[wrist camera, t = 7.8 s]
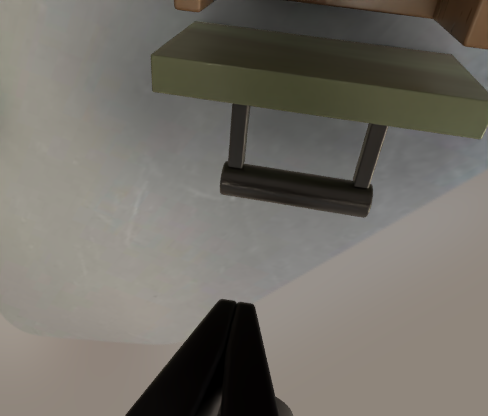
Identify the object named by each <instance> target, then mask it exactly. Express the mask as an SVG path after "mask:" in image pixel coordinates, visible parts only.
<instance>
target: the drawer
mask: <svg viewBox="0 0 488 416" xmlns="http://www.w3.org/2000/svg"><path fill="white" fill-rule="evenodd" d="M214 1H215V0H174V7H175V9H177V10H184V11H192V12H200V11H202V10H203V9H204V8H206V7H207V6H209V5H210V4H211V3H213V2H214ZM285 1H293V2H301V3H309V4H317V5H325V6H333V7H342V8H350V9H358V10H366V11H374V12H382V13H390V14H398V15H406V16H414V17H423V18H431V19H434V20H435V21H436V22H437V23H439V24H440V25H441V26H442V27H443V28H444V29H445V30H446V31H448V32H449V33H450V34H451V35H452V36H453V37H454V38H455V39H457V40H458V41H459V42H460V43H461V44H462V45H464V46H466V47H473V48H481V49H488V0H285ZM151 73H152V91H153V92H158V93H165V94H172V95H179V96H186V97H192V98H199V99H206V100H213V101H220V102H227V103H233V104H232V117H231V131H230V145H229V158H228V161H226V162H225V163H224V166H223V169H222V174H221V181H220V193H221V194H223V195H229V196H235V197H241V198H248V199H254V200H260V201H266V202H272V203H278V204H284V205H290V206H296V207H302V208H308V209H315V210H321V211H327V212H333V213H339V214H345V215H351V216H357V217H363V218H364V217H366V216H367V215H368V213H369V211H370V207H371V203H372V197H373V187H372V184H370V182H371V179H372V176H373V173H374V170H375V167H376V163H377V160H378V157H379V154H380V151H381V148H382V145H383V141H384V138H385V135H386V132H387V129H388V126H392V127H399V128H406V129H412V130H419V131H426V132H433V133H440V134H447V135H454V136H461V137H467V138H474V139H482V137H483V135H484V133H485V131H486V128H487V126H488V91H487V90H486V89H485V88H484V87H483V86H482V85H481V84H480V83H479V82H478V81H477V80H476V79H475V78H474V77H473V76H472V75H471V74H470V73H469V72H468V71H467V70H466V69H465V67H464V66H463V65H462V64H461V63H460V62H459V61H458V60H457V59H456V58H455V57H454V56H453V55H452V54H445V53H437V52H430V51H422V50H414V49H406V48H399V47H391V46H383V45H376V44H368V43H360V42H353V41H345V40H337V39H330V38H322V37H314V36H306V35H299V34H291V33H283V32H276V31H268V30H260V29H253V28H245V27H237V26H229V25H222V24H214V23H206V22H199V21H194V22H193V23H192V24H190V25H189V26H188V27H187V28H185V29H184V30H183V31H181V32H180V33H179V34H177V35H176V36H175V37H173V38H172V39H171V40H169V41H168V42H167V43H166V44H164V45H163V46H162V47H160V48H159V49H158V50H156V51H155V52H154V53H152V54H151ZM250 106H254V107H261V108H268V109H275V110H282V111H289V112H296V113H302V114H309V115H316V116H323V117H330V118H337V119H344V120H351V121H357V122H364V123H369V124H368V128H367V131H366V135H365V138H364V142H363V145H362V149H361V152H360V156H359V159H358V162H357V166H356V169H355V173H354V176H353V181H351V180H345V179H339V178H332V177H326V176H319V175H313V174H307V173H300V172H294V171H288V170H281V169H275V168H269V167H262V166H256V165H249V164H244V162H245V152H246V142H247V132H248V122H249V112H250Z"/></svg>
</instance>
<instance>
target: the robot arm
mask: <svg viewBox="0 0 488 416" xmlns="http://www.w3.org/2000/svg"><path fill="white" fill-rule="evenodd" d="M220 404H221V411H220V416H279V411H278V407H277V402H276V398H275V394H274V389H273V385H272V380H271V376H270V372H269V367H268V363H267V358H266V354H265V349H264V345H263V341H262V336H261V332H260V327H259V323H258V318H257V314H256V310H255V306H254V305H253V304H251V303H244V302H238V303H236V302H235V301H232V300H225V299H221V300H219V301H218V302H217V303H216V304H215V305H214V307H213V308H212V309H211V310H210V312H209V313H208V314H207V315H206V317H205V318H204V319H203V320H202V321H201V323H200V324H199V325H198V326H197V328H196V329H195V330H194V331H193V333H192V334H191V335H190V336H189V337H188V339H187V340H186V341H185V342H184V344H183V345H182V346H181V347H180V349H179V350H178V351H177V352H176V353H175V355H174V356H173V357H172V359H171V360H170V361H169V362H168V364H167V365H166V366H165V367H164V368H163V369H162V371H161V372H160V373H159V374H158V376H157V377H156V378H155V379H154V381H153V382H152V383H151V385H149V387H148V388H147V389H146V390H145V392H144V393H143V394H142V395H141V397H140V398H139V399H138V400H137V401H136V403H135V404H134V405H133V406H132V408H131V409H130V410H129V411H128V413H127V414H126V415H125V416H217V414H218V411H219V407H220Z"/></svg>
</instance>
